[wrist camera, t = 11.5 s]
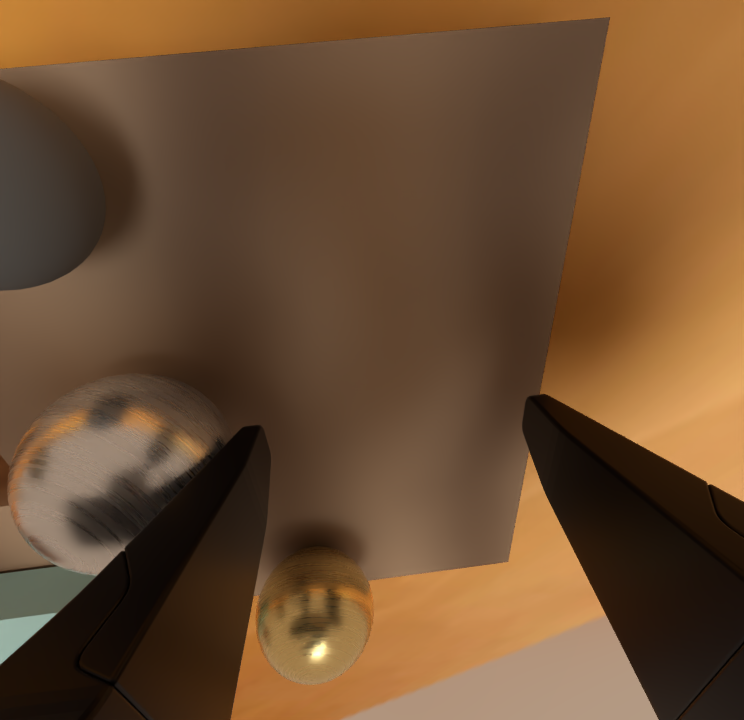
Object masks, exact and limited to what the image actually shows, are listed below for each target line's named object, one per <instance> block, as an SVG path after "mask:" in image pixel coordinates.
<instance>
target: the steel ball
mask: <svg viewBox="0 0 744 720" xmlns="http://www.w3.org/2000/svg"><path fill="white" fill-rule="evenodd" d="M231 438H232V434H231V431H230V428H229V426H228V424H227V422H226V420H225V419H224V417H223V415H222V414H221V412H220V411H219V410H218V408H217V407H216V406H215V405H214V404H213V403H212V402H211V401H210V400H209V399H208V398H207V397H206V396H204V395H203V394H202V393H201V392H199V391H198V390H196V389H195V388H193V387H191V386H189V385H187V384H185V383H183V382H180V381H177V380H175V379H172V378H169V377H165V376H159V375H152V374H122V375H116V376H109V377H105V378H102V379H99V380H95V381H92V382H89V383H87V384H85V385H82V386H80V387H78V388H76V389H74V390H72V391H71V392H69V393H67V394H66V395H64V396H62V397H61V398H59V399H58V400H56V401H55V402H54V403H53V404H51V405H50V406H49V407H47V408H46V409H45V410H44V411H43V412H42V413H41V414H40V415H39V416H38V417H37V418H36V420H35V421H34V422H33V423H32V424H31V426H30V427H29V428H28V430H27V431H26V432H25V434H24V435H23V437H22V439H21V441H20V443H19V444H18V446H17V448H16V451H15V453H14V456H13V459H12V462H11V465H10V468H9V475H8V482H7V492H8V503H9V507H10V512H11V516H12V519H13V521H14V523H15V525H16V527H17V529H18V531H19V533H20V534H21V536H22V537H23V538H24V540H25V541H26V542H27V543H28V545H29V546H30V547H31V548H32V549H33V550H34V551H35V552H36V553H38V554H39V555H40V556H41V557H43V558H44V559H46V560H47V561H49V562H51V563H52V564H54V565H56V566H58V567H61V568H63V569H66V570H69V571H73V572H76V573H80V574H84V575H93V576H97V575H98V574H99V573H100V572H101V571H102V570H103V569H104V568H105V567H106V566H107V565H108V564H109V563H110V562H111V561H112V560H113V559H114V558H115V557H116V556H117V555H118V553H119V552H121V551H125V550H124V548H125V547H126V546H127V544H128V543H129V542H130V541H131V540H132V539H133V538H134V537H135V536H136V535H137V534H138V533H139V532H140V531H141V530H142V529H143V528H144V527H145V526H146V525H147V524H148V523H149V522H150V521H151V520H152V519H153V518H154V517H155V516H156V515H157V514H158V513H159V512H160V511H161V510H162V509H163V508H164V507H165V506H166V505H167V504H168V503H169V502H170V501H171V500H172V498H173V497H174V496H175V495H176V494H177V493H178V492H179V491H180V490H181V489H182V488H183V487H184V486H185V485H186V484H187V483H188V482H189V481H190V480H191V479H192V478H193V477H194V476H195V475H196V474H197V473H198V472H199V471H200V470H201V469H202V468H203V467H204V466H205V465H206V464H207V463H208V462H209V461H210V460H211V459H212V458H213V457H214V456H215V455H216V454H217V452H218V451H219V450H220V449H221V448H222V447H223V446H224V445H225V444H226V443H227V442H228V441H229V440H230V439H231Z"/></svg>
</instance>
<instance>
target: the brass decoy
mask: <svg viewBox="0 0 744 720" xmlns="http://www.w3.org/2000/svg"><path fill="white" fill-rule="evenodd" d="M373 616H374V607H373V597H372V592H371V589H370V585H369V583H368V580H367V578H366V576H365V574H364V573H363V571H362V569H361V568H360V567H359V566H358V564H357V563H356V562H355V561H354V560H353V559H351V558H350V557H349V556H348V555H346V554H345V553H343V552H341V551H339V550H336V549H333V548H329V547H321V546H317V547H309V548H305V549H301V550H299V551H297V552H295V553H293V554H291V555H289V556H288V557H286V558H285V559H284V560H283V561H281V562H280V563H279V564H278V565H277V566H276V568H275V569H274V570H273V571H272V572H271V574H270V575H269V577H268V578H267V580H266V582H265V584H264V586H263V588H262V590H261V593H260V596H259V599H258V604H257V609H256V632H257V638H258V641H259V644H260V647H261V650H262V652H263V654H264V656H265V658H266V659H267V661H268V662H269V664H270V665H271V666H272V667H273V668H274V669H275V670H276V671H277V672H278V673H279V674H280V675H282V676H283V677H285V678H286V679H288V680H290V681H293V682H296V683H299V684H306V685H313V684H321V683H325V682H328V681H331V680H333V679H335V678H337V677H339V676H340V675H342V674H343V673H344V672H346V671H347V670H348V669H349V668H350V667H351V666H352V665H353V664H354V663H355V662H356V661H357V659H358V658H359V656H360V655H361V653H362V652H363V650H364V648H365V646H366V644H367V642H368V639H369V636H370V633H371V629H372V624H373Z"/></svg>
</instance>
